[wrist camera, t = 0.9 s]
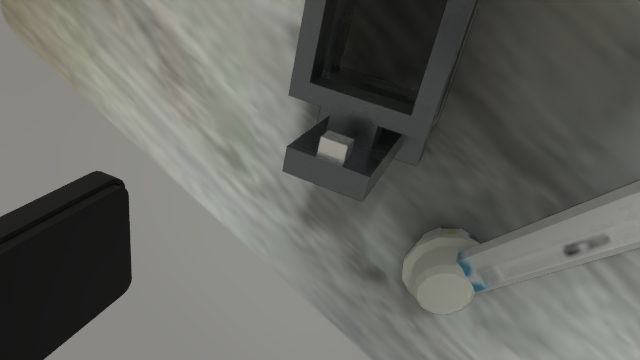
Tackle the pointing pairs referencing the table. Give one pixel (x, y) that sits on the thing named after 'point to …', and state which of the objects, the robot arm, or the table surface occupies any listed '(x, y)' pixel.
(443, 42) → the collar bracket
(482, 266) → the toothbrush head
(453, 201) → the table surface
